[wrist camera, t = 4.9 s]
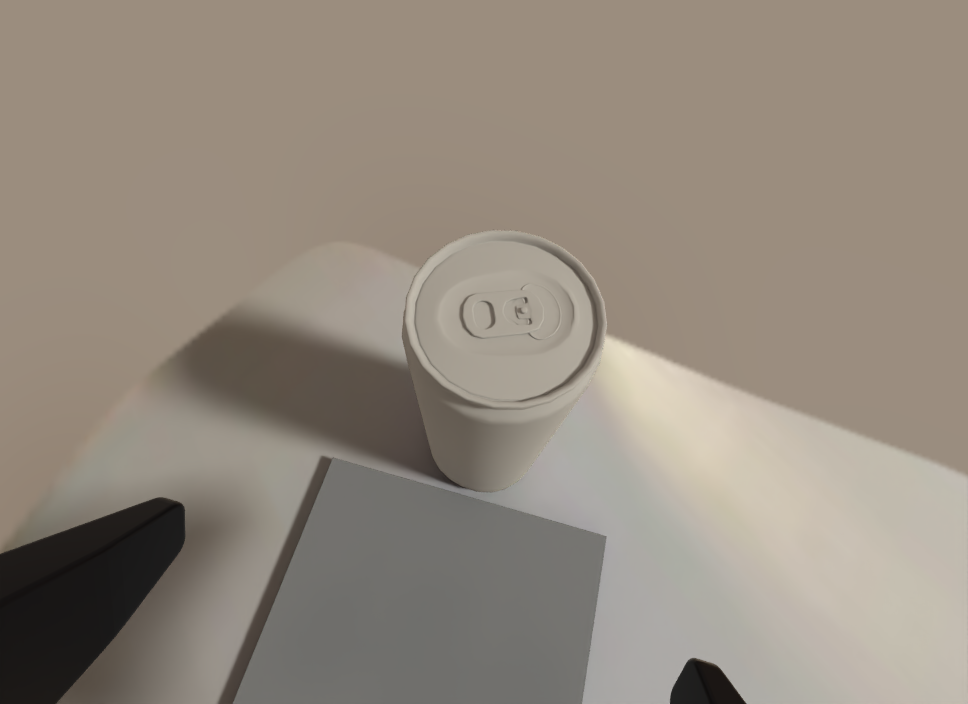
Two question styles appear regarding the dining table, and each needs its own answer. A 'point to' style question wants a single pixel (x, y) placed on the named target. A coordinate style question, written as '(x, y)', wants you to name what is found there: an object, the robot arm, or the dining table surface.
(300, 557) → the slate coaster
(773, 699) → the dining table surface
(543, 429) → the beverage can
